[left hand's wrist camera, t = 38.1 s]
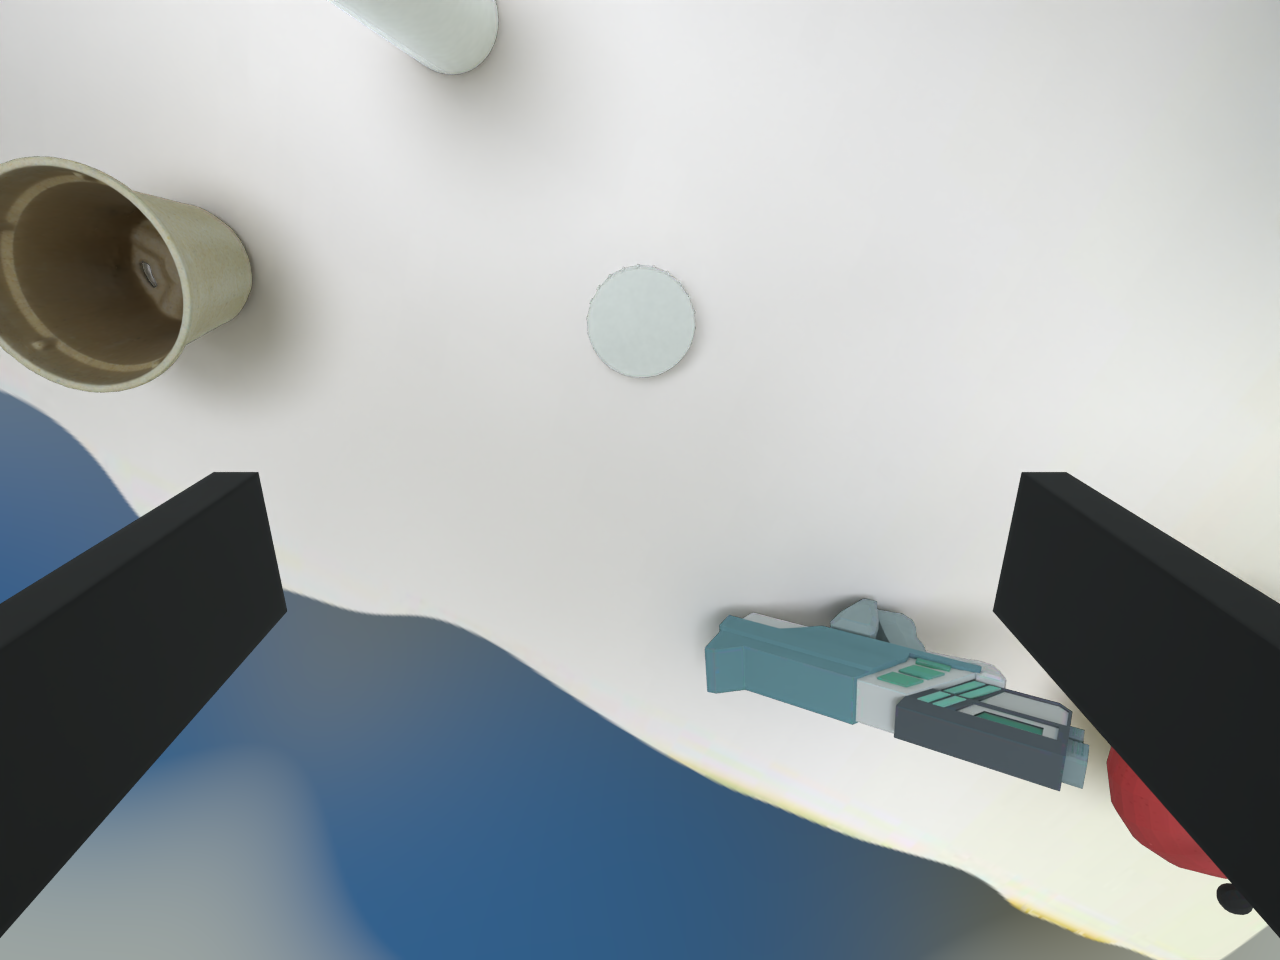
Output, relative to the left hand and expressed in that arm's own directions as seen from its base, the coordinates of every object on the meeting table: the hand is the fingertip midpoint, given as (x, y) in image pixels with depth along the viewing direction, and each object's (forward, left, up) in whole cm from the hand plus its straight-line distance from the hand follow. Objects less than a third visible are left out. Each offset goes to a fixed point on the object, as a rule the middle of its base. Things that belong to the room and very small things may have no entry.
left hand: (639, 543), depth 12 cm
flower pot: (-8, +22, -28) cm, 36 cm away
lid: (0, 0, -26) cm, 26 cm away
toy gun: (-11, -20, -28) cm, 36 cm away
